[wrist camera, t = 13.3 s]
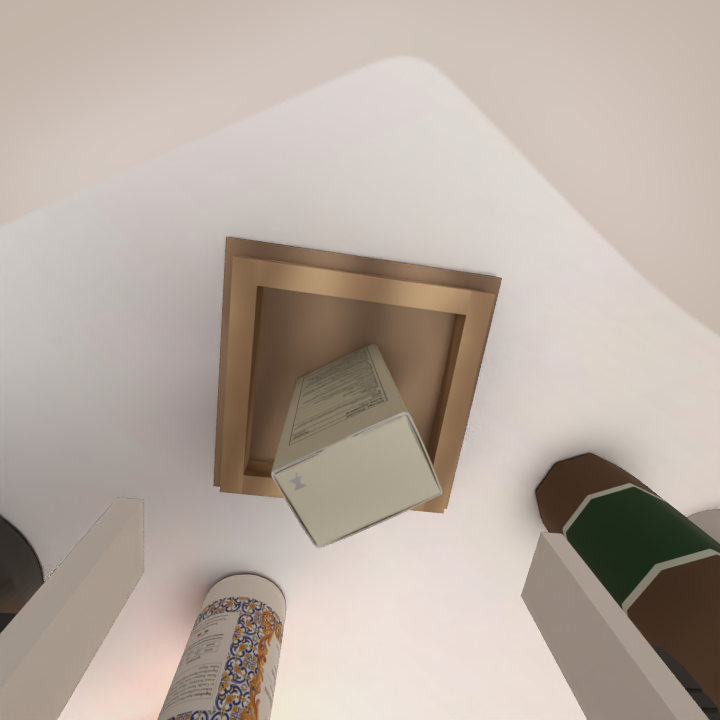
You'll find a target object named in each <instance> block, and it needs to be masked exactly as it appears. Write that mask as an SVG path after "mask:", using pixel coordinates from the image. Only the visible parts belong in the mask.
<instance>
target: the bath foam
mask: <svg viewBox="0 0 720 720" xmlns="http://www.w3.org/2000/svg"><path fill="white" fill-rule="evenodd" d="M285 615H286V603H285V599H284V597H283V595H282V593H281V591H280V590H279V589H278V588H277V586H275V585H274V584H273V583H272V582H270V581H269V580H267V579H265V578H263V577H260V576H256V575H233V576H230V577H227V578H225V579H223V580H221V581H219V582H218V583H216V584H215V585H214V586H213V587H212V588H211V589H210V591H209V592H208V594H207V595H206V597H205V600H204V602H203V605H202V607H201V610H200V612H199V615H198V617H197V619H196V622H195V624H194V627H193V630H192V632H191V635H190V637H189V640H188V642H187V645H186V648H185V650H184V653H183V655H182V658H181V660H180V663H179V666H178V668H177V671H176V673H175V676H174V678H173V681H172V684H171V686H170V689H169V691H168V694H167V696H166V699H165V702H164V704H163V707H162V709H161V712H160V714H159V717H158V720H270V716H271V709H272V703H273V696H274V690H275V683H276V676H277V670H278V663H279V657H280V650H281V643H282V637H283V629H284V622H285Z"/></svg>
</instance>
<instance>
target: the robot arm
mask: <svg viewBox="0 0 720 720" xmlns="http://www.w3.org/2000/svg"><path fill="white" fill-rule="evenodd" d="M143 572H144V499H132V498H120V497H118V498H117V499H116V500H115V501H114V502H113V504H112V505H111V506H110V507H109V508H108V509H107V511H106V512H105V513H104V514H103V515H102V516H101V518H100V519H99V520H98V521H97V522H96V523H95V525H94V526H93V527H92V528H91V529H90V530H89V531H88V533H87V534H86V535H85V536H84V537H83V538H82V540H81V541H80V542H79V543H78V544H77V545H76V547H75V548H74V549H73V550H72V551H71V552H70V554H69V555H68V556H67V557H66V558H65V559H64V560H63V562H62V563H61V564H60V565H59V566H58V567H57V569H56V570H55V571H54V572H53V573H52V574H51V576H50V577H49V578H48V579H47V580H46V581H45V583H44V584H43V582H42V574H41V570H40V567H39V564H38V562H37V559H36V557H35V555H34V553H33V552H32V550H31V549H30V547H29V546H28V544H27V543H26V542H25V540H24V539H23V538H22V537H21V536H20V535H19V534H18V533H17V532H16V531H15V530H14V529H13V528H12V527H11V526H10V525H9V524H7V523H6V522H5V521H4V520H2V519H1V518H0V720H57V719H58V717H59V716H60V714H61V712H62V710H63V709H64V707H65V705H66V704H67V702H68V700H69V698H70V697H71V695H72V693H73V692H74V690H75V688H76V686H77V685H78V683H79V681H80V680H81V678H82V676H83V675H84V673H85V671H86V669H87V668H88V666H89V664H90V663H91V661H92V659H93V657H94V656H95V654H96V652H97V651H98V649H99V647H100V646H101V644H102V642H103V640H104V639H105V637H106V635H107V634H108V632H109V630H110V628H111V627H112V625H113V623H114V622H115V620H116V618H117V616H118V615H119V613H120V611H121V610H122V608H123V606H124V605H125V603H126V601H127V599H128V598H129V596H130V594H131V593H132V591H133V589H134V587H135V586H136V584H137V582H138V581H139V579H140V577H141V576H142V574H143ZM521 597H522V599H523V600H524V602H525V604H526V606H527V608H528V610H529V612H530V614H531V615H532V617H533V619H534V621H535V623H536V625H537V627H538V628H539V630H540V632H541V634H542V636H543V638H544V640H545V642H546V643H547V645H548V647H549V649H550V651H551V653H552V655H553V657H554V658H555V660H556V662H557V664H558V666H559V668H560V670H561V671H562V673H563V675H564V677H565V679H566V681H567V683H568V685H569V686H570V688H571V690H572V692H573V694H574V696H575V698H576V700H577V701H578V703H579V705H580V707H581V709H582V711H583V713H584V715H585V716H586V718H587V720H720V712H719V710H718V707H717V706H716V705H715V703H714V702H713V701H712V700H711V699H710V697H709V696H708V695H707V694H706V693H703V691H702V688H701V687H700V685H699V684H698V683H697V682H696V681H695V679H694V678H693V677H692V676H691V675H690V673H689V672H688V671H687V670H686V669H685V667H684V666H683V665H682V664H680V663H679V662H678V661H677V660H676V659H675V658H673V657H672V656H671V655H670V654H669V653H668V652H666V651H665V650H664V649H663V648H662V647H661V646H651V645H650V644H649V643H648V642H647V640H646V639H645V638H644V637H643V635H642V634H641V633H640V632H639V630H638V629H637V628H636V627H635V625H634V624H633V623H632V621H631V620H630V619H629V618H628V616H627V615H626V614H625V613H624V611H623V610H622V609H621V608H620V606H619V605H618V604H617V603H616V601H615V600H614V599H613V598H612V596H611V595H610V594H609V592H608V591H607V590H606V589H605V587H604V586H603V585H602V584H601V582H600V581H599V580H598V579H597V577H596V576H595V575H594V574H593V572H592V571H591V570H590V568H589V567H588V566H587V565H586V563H585V562H584V561H583V560H582V558H581V557H580V556H579V555H578V553H577V552H576V551H575V550H574V548H573V547H572V546H571V545H570V543H569V542H568V541H567V539H566V538H565V537H564V536H563V534H558V533H546V532H541V534H540V538H539V541H538V544H537V547H536V550H535V553H534V556H533V560H532V563H531V566H530V569H529V572H528V575H527V578H526V582H525V585H524V588H523V591H522V594H521Z"/></svg>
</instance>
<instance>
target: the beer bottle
mask: <svg viewBox="0 0 720 720" xmlns="http://www.w3.org/2000/svg"><path fill="white" fill-rule="evenodd" d="M536 494H537V499H538V503H539V508H540V513H541V517H542V522H543V524H544V525H545V527H546V528H547V530H548V532H549V533H558V534H563V536H564V537H565V538H566V539H567V541H568V542H569V543H570V545H571V546H572V547H573V548H574V550H575V551H576V552H577V553H578V555H579V556H580V557H581V558H582V560H583V561H584V562H585V563H586V565H587V566H588V567H589V568H590V570H591V571H592V572H593V574H594V575H595V576H596V577H597V579H598V580H599V581H600V582H601V584H602V585H603V586H604V587H605V589H606V590H607V591H608V592H609V594H610V595H611V596H612V598H613V599H614V600H615V601H616V603H617V604H618V605H619V606H620V608H621V609H622V610H623V611H624V613H625V614H626V615H627V616H628V618H629V619H630V620H631V621H632V623H633V624H634V625H635V627H636V628H637V629H638V630H639V632H640V633H641V634H642V635H643V637H644V638H645V639H646V640H647V642H648V643H649V644H650V645H651V646H661V647H662V648H663V649H664V650H665V651H666V652H668V653H669V654H670V655H671V656H672V657H673V658H675V659H676V660H677V661H678V662H679V663H680V664H682V665H683V666H684V667H685V669H686V670H687V671H688V672H689V673H690V675H691V676H692V677H693V678H694V679H695V681H696V682H697V683H698V684H699V685H700V687H701V688H702V691H703V693H706V694H707V695H708V696H709V697H710V699H711V700H712V701H713V702H714V703H715V705H716V706H717V707H718V710H719V712H720V544H719V543H718V542H717V541H716V540H714V539H713V538H712V537H711V536H709V535H708V534H707V533H705V532H704V531H703V530H702V529H700V528H699V527H698V526H697V525H695V524H694V523H693V522H691V521H690V520H689V519H688V518H686V517H685V516H684V515H683V514H681V513H680V512H679V511H677V510H676V509H675V508H674V507H672V506H671V505H670V504H669V503H667V502H666V501H665V500H663V499H662V498H661V497H660V496H658V495H657V494H656V493H655V492H653V491H652V490H651V489H649V488H648V487H647V486H646V485H644V484H643V483H642V482H641V481H639V480H638V479H636V478H635V477H634V476H632V475H631V474H629V473H628V472H626V471H625V470H623V469H622V468H620V467H618V466H616V465H614V464H612V463H610V462H608V461H606V460H604V459H602V458H600V457H598V456H596V455H594V454H586V455H583V456H580V457H576V458H573V459H570V460H566V461H563V462H560V463H556V464H555V465H554V467H553V468H552V469H551V471H550V472H549V474H548V475H547V476H546V478H545V479H544V481H543V482H542V483H541V485H540V486H539V488H538V489H537V490H536Z"/></svg>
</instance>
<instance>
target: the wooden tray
mask: <svg viewBox="0 0 720 720" xmlns="http://www.w3.org/2000/svg"><path fill="white" fill-rule="evenodd" d="M501 280H502V278H499V277H494V276H487V275H480V274H474V273H467V272H460V271H454V270H447V269H440V268H434V267H427V266H420V265H414V264H407V263H400V262H393V261H387V260H380V259H373V258H367V257H360V256H353V255H347V254H340V253H333V252H327V251H320V250H313V249H306V248H300V247H293V246H286V245H280V244H273V243H266V242H260V241H253V240H246V239H240V238H233V237H226V248H225V268H224V288H223V308H222V327H221V347H220V367H219V387H218V407H217V427H216V447H215V467H214V486H218V487H220V492H227V493H237V494H247V495H258V496H268V497H279V498H284V496H283V495H282V493H281V492H280V490H279V488H278V486H277V484H276V483H275V481H274V479H273V478H272V476H271V472H272V468H273V464H274V461H275V457H276V454H277V450H278V446H279V443H280V439H281V436H282V432H283V428H284V425H285V421H286V418H287V414H288V410H289V407H290V403H291V400H292V396H293V392H294V388H295V385H296V381H297V379H299V378H301V377H303V376H305V375H307V374H309V373H311V372H313V371H314V370H316V369H319V368H321V367H323V366H325V365H327V364H329V363H331V362H333V361H335V360H337V359H339V358H341V357H344V356H346V355H348V354H350V353H353V352H355V351H357V350H359V349H362V348H364V347H366V346H369V345H371V344H376V345H377V346H378V349H379V351H380V353H381V355H382V357H383V359H384V361H385V363H386V365H387V367H388V369H389V371H390V373H391V376H392V378H393V380H394V382H395V384H396V386H397V388H398V390H399V393H400V395H401V397H402V399H403V401H404V403H405V405H406V407H407V409H408V411H409V413H410V415H411V417H412V419H413V421H414V424H415V426H416V428H417V430H418V432H419V434H420V437H421V439H422V441H423V443H424V446H425V448H426V450H427V453H428V455H429V457H430V460H431V462H432V465H433V467H434V470H435V472H436V475H437V477H438V480H439V483H440V485H441V487H442V490H443V493H442V494H441V495H440V496H437V497H435V498H433V499H431V500H429V501H427V502H425V503H423V504H421V505H418V506H416V507H414V508H412V509H410V510H414V511H424V512H434V513H444V509H447V506H448V502H449V497H450V493H451V489H452V485H453V481H454V476H455V472H456V468H457V464H458V460H459V456H460V451H461V447H462V443H463V439H464V435H465V430H466V426H467V422H468V418H469V414H470V410H471V405H472V401H473V397H474V393H475V389H476V384H477V380H478V376H479V372H480V368H481V364H482V359H483V355H484V351H485V347H486V343H487V338H488V334H489V330H490V326H491V322H492V318H493V313H494V309H495V305H496V301H497V297H498V292H499V288H500V284H501Z"/></svg>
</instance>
